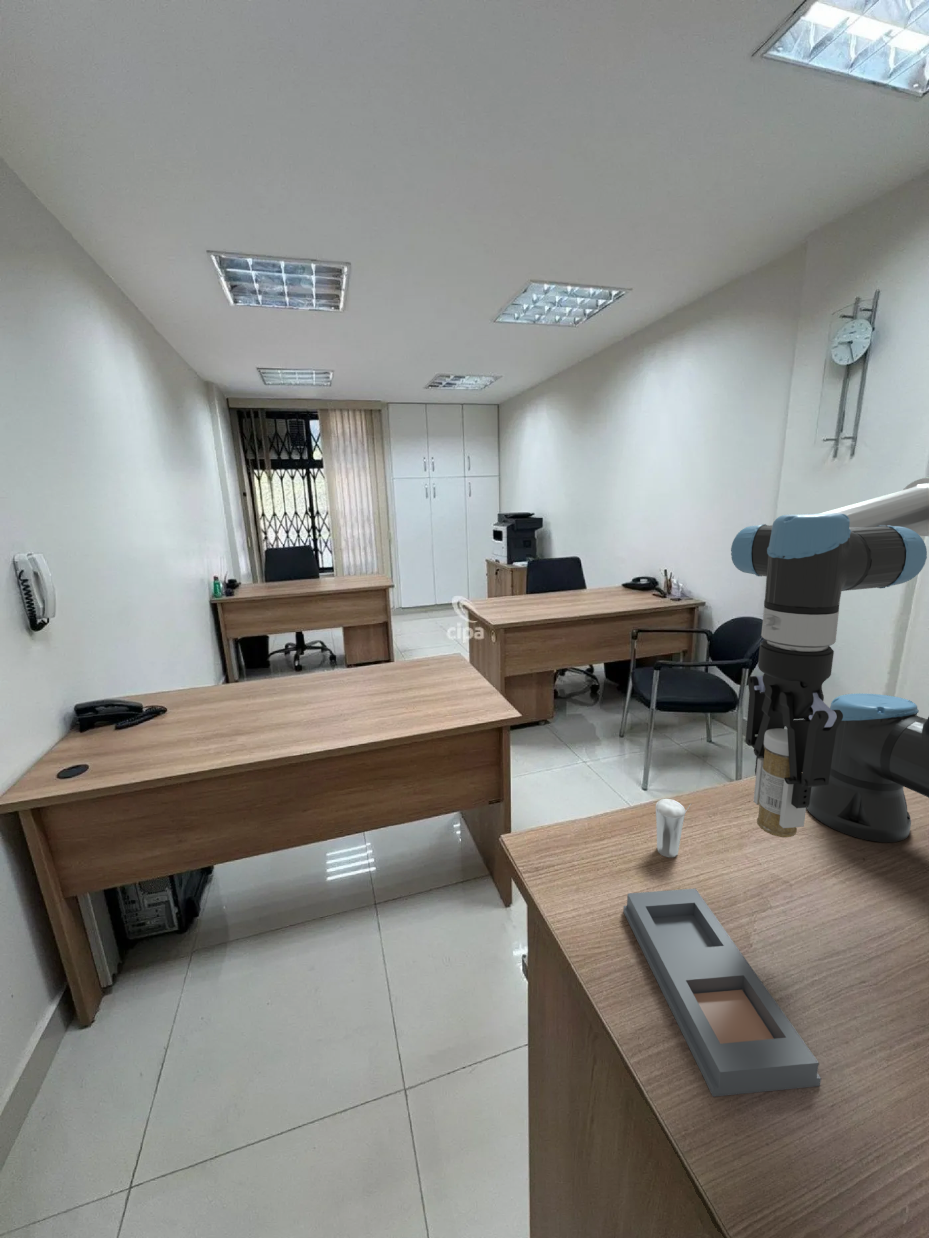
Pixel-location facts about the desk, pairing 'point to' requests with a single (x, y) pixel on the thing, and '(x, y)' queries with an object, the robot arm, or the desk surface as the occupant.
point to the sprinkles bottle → (774, 782)
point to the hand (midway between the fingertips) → (777, 813)
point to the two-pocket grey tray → (718, 997)
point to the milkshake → (669, 826)
